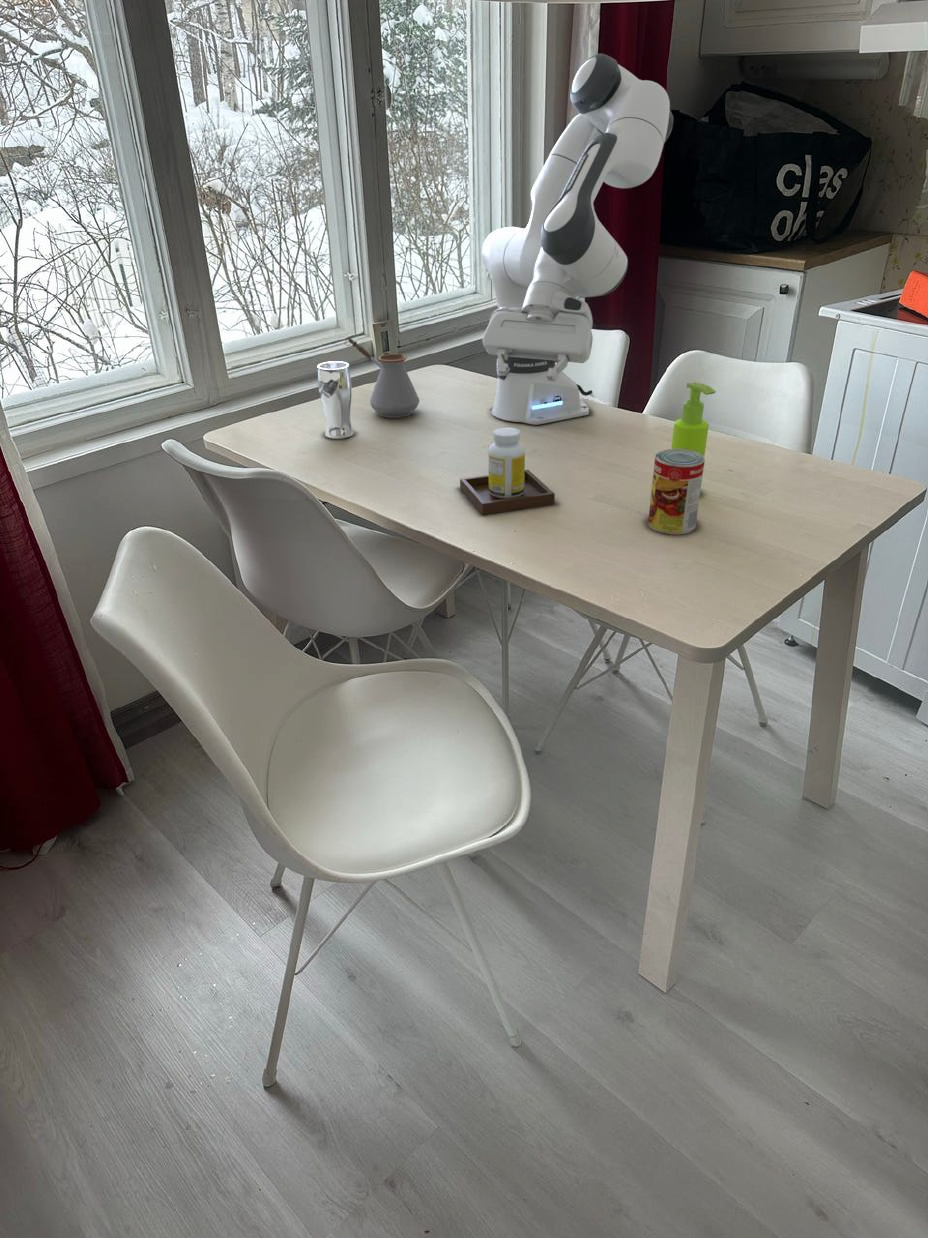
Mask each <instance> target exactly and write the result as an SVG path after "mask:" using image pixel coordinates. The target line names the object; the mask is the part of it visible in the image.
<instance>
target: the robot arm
mask: <svg viewBox="0 0 928 1238" xmlns="http://www.w3.org/2000/svg"><path fill="white" fill-rule="evenodd" d="M569 90H570V91H569V92H570V93H569V96H570V102H571V103H572V105H573V106H574V108H575V109H576V111H577V112H578V113H579V114H577V115H575V117H573V118H572V120H571V121H570V123H569V124H568V125H567V126H566V128H565V129H564V131H563V132H562V133H561V135H560V136H559V138H558V140H557V141H556V143H555V145H554V146H553V148H552V150H551V151H550V153H549V155H548V157H547V159H546V161H545V163H544V165H543V167H542V168H541V171H540V173H539V174H538V177H536V180H535V181H534V184H533V186H532V188H531V191H530V199H531V203H532V208H531V212H530V217H529V221H528V224H527V225H526V227H525V228H522V227H516V226H508V227H502V228H498V229H496V230H494V231H492V232H490V233H489V234H488V235H487V237H486V238H485V240H484V241H483V245H482V249H481V258H482V263H483V265H484V267H485V269H486V270H487V272H488V275H489V276H490V278H491V284H492V288H493V292H494V296H495V301H496V305H497V309H496V310H494V311H492V313H491V315H490V318H489V323H488V325H487V327H486V329H485V332H484V334H483V337H482V340H481V341H482V346H483V347H484V350H485V351H486V353H487V354H488V355H491V356H492V355H493V356H496V376H497V385H496V392H495V397H494V398H495V399H494V402H493V405H492V408H491V414H492V416H494V417H495V418H497V419H500V420H503V421H508V422H514V423H525V424H528V425H535V426H537V425H543V424H548V423H554V422H559V421H563V420H568V419H573V418H578V417H584V416H587V415H589V414H590V407H589V406H588V405H587V404H586V403H585V402H584V401H583V400H581V398H580V397H581V396H580V394H581V395H582V396H584V397H585V396H586V397H587V396H589V395H592V394H593V390H588V391H585V390H584V389H583V387H582V386H581V385H579V384H577V383H576V381H574V380H573V379H571V378H570V376H568V375H567V374H566V373H565V372H563V371H564V370H565V369H566V368H567V367H568V364H569V363H576V364H577V363H578V364H584V363H586V362H587V361H588V360H589V359H590V357H591V353H592V347H593V340H594V339H593V332H592V328H593V326H594V321H593V320H594V319H593V315H592V311H591V308H590V306H589V304H588V303H587V302H586V301H584V300H582V299H579V298H597V297H603V296H606V295H609V294H611V293H613V292H614V291H616V289H617V288H618V287H620V285H621V283H622V282H623V280H624V279H625V276H626V274H627V272H628V268H629V267H628V266H629V258H628V256H627V254H626V253H625V251H624V250H623V248H622V247H621V245H620V244H619V243H618V242H617V240H615V238H614V237H613V236H612V235H611V234H610V233H609V231H608V230H607V229H606V227H605V226H604V225H603V224H602V222H601V221H600V220H599V218H598V216H597V213H596V211H595V205H594V202H595V199H596V197H598V196H597V195H598V194H599V191H600V189H601V187H602V185H603V183H605V184H606V185H607V186H610V187H613V188H618V189H632V188H635V187H638V186H640V185H643V184H644V183H645V182H647V181H648V180H649V179H650V178H651V177H652V176H653V174H654V173H655V171H656V169H657V168H658V165H659V162H660V159H661V156H662V152H663V149H664V145H665V143H666V142H667V140H668V139H669V137H670V135H671V133H672V130H673V128H674V127H673V126H674V115H673V113H672V111H671V109H670V108H671V103H670V98H669V95H668V93H667V90H666V89H665V88H664V87H663V86H662V85H660V84H659V83H658V82H655V81H653V80H647V79H645V80H644V79H643V80H642V79H639V78H638V77H637V76H636V75H634V74H633V73H632V72H630V71H629V70H627V69H626V67H623V66H621V64H618V61H617V60H616V59H615V58H613V57H612V56H609V55H608V54H606V53H605V54H604V53H597V54H594V55H592V56H590V57H589V58H588V59H587V60H586V61H585V62H584V63H583V64H582V65H581V66H580V67H579V69H578V70H577V72H576V74H575V76H574V78H573V81H572V83H571V86H570V89H569ZM577 297H579V298H577Z"/></svg>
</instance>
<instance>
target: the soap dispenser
mask: <svg viewBox="0 0 928 1238" xmlns="http://www.w3.org/2000/svg"><path fill="white" fill-rule="evenodd" d="M686 388H689V389H690V391H689V392H690V393H689V399H688V400H686V401H685V402H683V407H682V408H683V409H682V418H679V419H676V420H675V421H674V422H673V430H672V439H671V448H670V449H685V450H691V451H695V452H697V453H700V454H701V455H703V456H704V457H705V455H706V448H707V439H708V434H709V433H708V432H709V426H710V424H709V422H708V421H706V420H704V419H703V415H704V407H705V404H704V402H702V401H701V400H700V399H701V393H702V394H704V395H712V394H713V395H714V394H716V392H717V391H716V390H715V389H714V388H712V387H711V386H709V385H707V384H705V383H700V382H689V383H686Z"/></svg>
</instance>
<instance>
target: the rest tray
mask: <svg viewBox="0 0 928 1238" xmlns="http://www.w3.org/2000/svg"><path fill="white" fill-rule="evenodd" d="M459 490H460V491H461V492H462V493H463V494H464V495H465V497H466V498H467V499H468V500H469V501H470V502H471V503H472V505H473V506H474V507H475V508H476V509H477V511H478V512H479V513H480V514H481V515H482V516H484V515H486V516H487V515H492V514H498V513H504V512H511V511H518V510H519V511H520V510H525V509H531V508H532V509H533V508H538V507H539V508H540V507H546V506H552V505H555V492H553V490H551V488H549V487H548V486H547V485H546V484H545V483H544V482H542V480H540V479H539V478H538V477H537V476H536V475H535V474H533V472H531V470H530V469H525V477H524V492H523V494H522V495H521V496H519V497H515V498H508V499H501V498H497V497H494V496H492V495H491V494H490V492H489V474H485V475H478V476H470V477H462V478H459Z"/></svg>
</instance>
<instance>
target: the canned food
mask: <svg viewBox="0 0 928 1238" xmlns="http://www.w3.org/2000/svg"><path fill="white" fill-rule="evenodd" d="M705 461H706V457H705V456H703V455H701V454H700V453H697V452H695V451H691V450H685V449H671V448H670V449H669V448H668V449H663V450H660V451H658V452H656V454H654V464H653V471H652V483H651V492H650V502H649V510H648V511H649V512H648V520H647V524H648V527H650V529H652V530H653V531H656V532H659V533H662V534H667V535H685V534H688V533H689V534H690V533H691V532H693V531H695V529H696V526H697V519H698V511H699V504H700V499H701V489H702V483H703V475H704V469H705Z"/></svg>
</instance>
